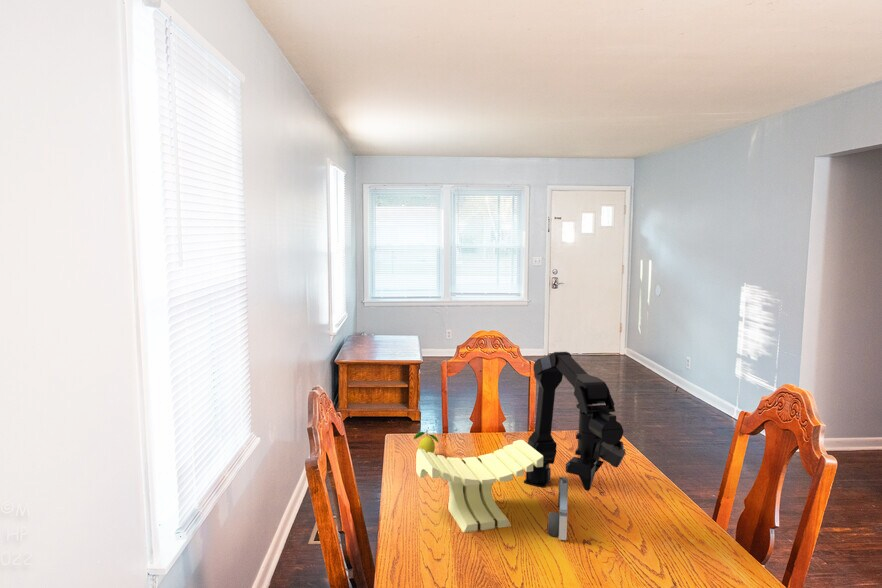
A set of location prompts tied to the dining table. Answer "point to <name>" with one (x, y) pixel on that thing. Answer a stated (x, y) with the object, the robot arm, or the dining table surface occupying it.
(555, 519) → the gate stop
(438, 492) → the dining table surface
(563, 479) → the gate post
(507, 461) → the slatted curved stool
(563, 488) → the gate
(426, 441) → the lemon
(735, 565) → the dining table surface
